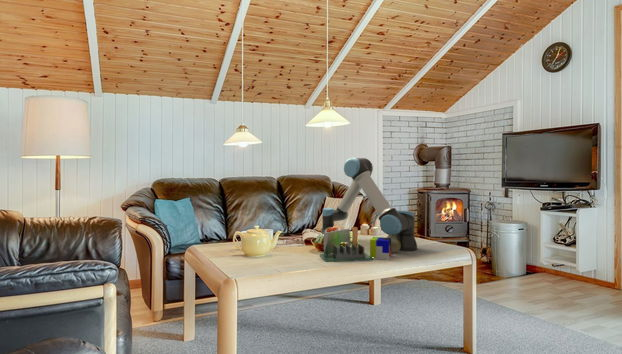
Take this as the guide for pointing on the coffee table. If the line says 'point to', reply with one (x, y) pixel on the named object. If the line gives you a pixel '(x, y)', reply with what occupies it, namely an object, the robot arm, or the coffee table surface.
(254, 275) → the coffee table surface
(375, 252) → the puzzle toy
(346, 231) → the upright grey panel
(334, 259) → the model factory
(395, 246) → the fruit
